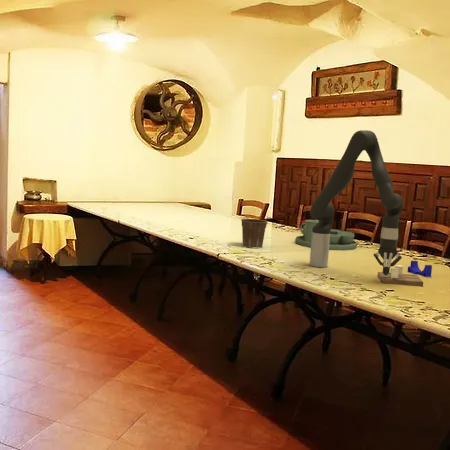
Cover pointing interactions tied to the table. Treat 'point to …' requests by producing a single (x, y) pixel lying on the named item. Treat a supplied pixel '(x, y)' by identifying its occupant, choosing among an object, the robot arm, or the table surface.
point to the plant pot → (253, 232)
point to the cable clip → (415, 269)
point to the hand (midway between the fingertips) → (385, 274)
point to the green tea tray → (336, 237)
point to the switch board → (401, 279)
